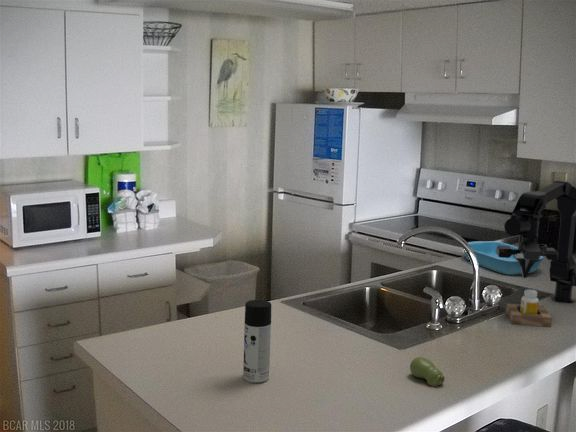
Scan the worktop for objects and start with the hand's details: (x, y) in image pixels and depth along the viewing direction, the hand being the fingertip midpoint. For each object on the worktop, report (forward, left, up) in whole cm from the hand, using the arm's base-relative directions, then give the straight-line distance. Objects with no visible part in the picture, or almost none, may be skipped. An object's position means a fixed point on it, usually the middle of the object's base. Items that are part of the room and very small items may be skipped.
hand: (524, 277), depth 229 cm
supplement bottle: (+5, +1, -13) cm, 14 cm away
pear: (+59, -34, -13) cm, 69 cm away
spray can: (+67, -78, -13) cm, 103 cm away
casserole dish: (-63, +3, -13) cm, 65 cm away
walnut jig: (+5, +1, -13) cm, 14 cm away
